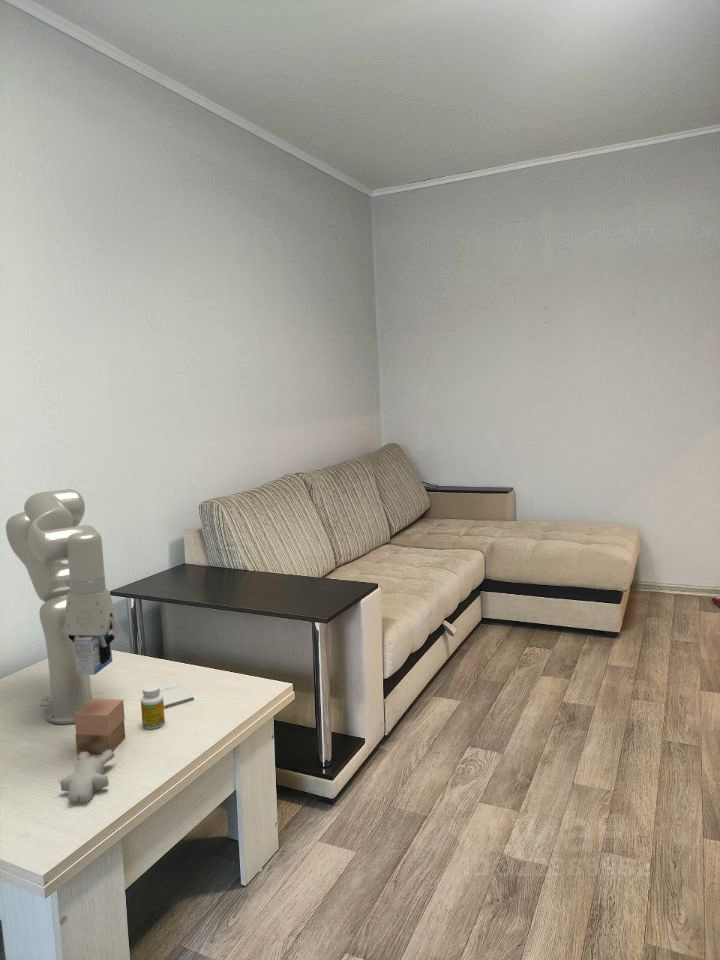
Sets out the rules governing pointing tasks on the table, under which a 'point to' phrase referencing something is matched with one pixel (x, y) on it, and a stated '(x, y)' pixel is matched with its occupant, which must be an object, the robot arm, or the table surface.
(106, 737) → the tower bottom block
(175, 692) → the external hard drive
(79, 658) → the medicine box
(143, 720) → the supplement bottle
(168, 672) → the table surface
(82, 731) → the tower top block
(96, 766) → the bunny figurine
